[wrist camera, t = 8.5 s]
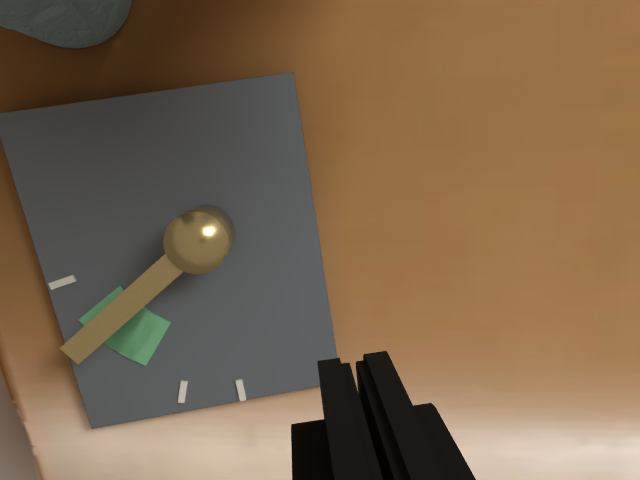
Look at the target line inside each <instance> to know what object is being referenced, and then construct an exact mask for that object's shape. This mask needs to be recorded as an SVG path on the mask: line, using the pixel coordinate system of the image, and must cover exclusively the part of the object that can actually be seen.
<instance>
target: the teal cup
mask: <svg viewBox="0 0 640 480" xmlns="http://www.w3.org/2000/svg"><path fill="white" fill-rule="evenodd" d="M131 5H132V0H0V26H2V27H4V28H7V29H13V30H15V31H17V32H20V33H22V34H25V35H27V36H30V37H32V38H35V39H38V40H40V41H43V42H46V43H48V44H51V45H54V46H58V47H63V48H74V49H76V48H87V47H90V46H94V45H98V44H100V43H102V42H104V41H106V40H108V39H109V38H110V37H112V36H113V35H114V34H115V33H116V32H117V31H118V30H119V29H120V28H121V26H122V25H123V24H124V22H125V20H126V19H127V17H128V14H129V11H130V9H131Z"/></svg>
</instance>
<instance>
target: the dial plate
mask: <svg viewBox="0 0 640 480" xmlns="http://www.w3.org/2000/svg"><path fill="white" fill-rule="evenodd" d="M0 138H1V141H2V145H3V148H4V151H5V154H6V157H7V160H8V164H9V167H10V170H11V173H12V176H13V180H14V183H15V186H16V189H17V192H18V196H19V199H20V202H21V205H22V208H23V211H24V215H25V218H26V221H27V224H28V227H29V231H30V234H31V237H32V240H33V243H34V246H35V250H36V253H37V256H38V259H39V262H40V266H41V269H42V272H43V275H44V278H45V282H46V285H47V288H48V291H49V294H50V297H51V301H52V304H53V307H54V310H55V313H56V317H57V320H58V323H59V326H60V329H61V332H62V336H63V339H64V342H65V343H66V342H67V341H68V340H69V339H70V338H72V337H73V336H74V335H75V334H76V333H77V332H78V331H79V330H81V329H82V328H83V327H84V326H85V325H86V324H87V323H88V322H89V321H91V320H92V319H93V318H94V317H95V316H96V315H97V314H98V313H100V312H101V311H102V310H103V309H104V308H105V307H106V306H107V305H109V304H110V303H111V302H112V301H113V300H114V299H115V298H116V297H117V296H119V295H120V294H121V293H122V292H123V291H124V290H125V289H126V288H128V287H129V286H130V285H131V284H132V283H133V282H134V281H135V280H136V279H138V278H139V277H140V276H141V275H142V274H143V273H144V272H145V271H147V270H148V269H149V268H150V267H151V266H152V265H153V264H154V263H155V262H157V261H158V260H159V259H160V258H161V257H162V256H163V255H164V254H166V253H165V251H164V246H163V238H164V233H165V231H166V229H167V227H168V225H169V224H170V223H171V222H172V221H173V220H174V219H175V218H177V217H178V216H180V215H182V214H183V213H185V212H187V211H188V210H190V209H192V208H194V207H196V206H200V205H211V206H215V207H217V208H219V209H221V210H223V211H224V212H225V213H226V214H227V215H228V216H229V217H230V219H231V220H232V223H233V225H234V230H235V237H234V241H233V244H232V246H231V247H230V249H229V251H228V253H227V255H226V256H225V258H224V260H223V261H222V263H221V264H220V265H219V266H218V267H217V268H215V269H214V270H212V271H210V272H207V273H203V274H191V273H187V272H184V271H183V272H182V273H181V274H180V275H179V276H178V277H177V278H176V279H174V280H173V281H172V282H171V283H170V284H169V285H168V286H167V287H165V288H164V289H163V290H162V291H161V292H160V293H159V294H158V295H156V296H155V297H154V298H153V299H152V300H151V301H150V302H148V303H147V304H146V305H145V306H144V307H143V308H142V309H141V310H139V311H138V312H137V313H136V314H135V315H134V316H133V317H132V318H130V319H129V320H128V321H127V322H126V323H125V324H124V325H123V326H121V327H120V328H119V329H118V330H117V331H116V332H115V333H114V334H112V335H111V336H110V337H109V338H108V339H107V340H106V341H104V342H103V343H102V344H101V345H100V346H99V347H98V348H97V349H95V350H94V351H93V352H92V353H91V354H90V355H89V356H88V357H86V358H85V359H84V360H83V361H82V362H81V363H80V364H79V365H78V364H77V363H76V362H74V361H73V360H72V359H71V358H70V357H69V358H70V361H71V364H72V368H73V371H74V374H75V377H76V380H77V383H78V387H79V390H80V393H81V396H82V399H83V403H84V406H85V409H86V412H87V415H88V419H89V422H90V425H91V428H92V429H94V428H100V427H105V426H110V425H116V424H121V423H126V422H132V421H137V420H142V419H147V418H153V417H158V416H163V415H169V414H174V413H179V412H185V411H190V410H195V409H201V408H206V407H211V406H217V405H222V404H227V403H232V402H238V401H245V400H248V399H254V398H259V397H264V396H270V395H275V394H280V393H286V392H291V391H296V390H302V389H307V388H312V387H317V386H320V380H319V372H318V364H317V361H320V360H327V359H334V358H337V353H336V347H335V340H334V333H333V327H332V320H331V314H330V307H329V301H328V294H327V288H326V281H325V275H324V268H323V262H322V255H321V249H320V242H319V236H318V229H317V223H316V216H315V209H314V203H313V196H312V190H311V183H310V177H309V170H308V164H307V157H306V151H305V144H304V138H303V131H302V125H301V118H300V112H299V105H298V99H297V92H296V86H295V79H294V72H291V73H284V74H277V75H270V76H262V77H255V78H248V79H241V80H234V81H227V82H220V83H213V84H206V85H198V86H191V87H184V88H177V89H170V90H163V91H156V92H149V93H142V94H134V95H127V96H120V97H113V98H106V99H99V100H92V101H85V102H78V103H70V104H63V105H56V106H49V107H42V108H35V109H28V110H21V111H14V112H6V113H0Z"/></svg>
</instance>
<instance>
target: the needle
mask: <svg viewBox="0 0 640 480" xmlns="http://www.w3.org/2000/svg"><path fill="white" fill-rule="evenodd" d="M234 237H235V230H234V225H233V223H232V220H231V219H230V217H229V216H228V215H227V214H226V213H225V212H224V211H223V210H221V209H219V208H217V207H215V206H211V205H200V206H196V207H194V208H192V209H190V210H188V211H187V212H185V213H183V214H182V215H180V216H178V217H177V218H175V219H174V220H173V221H172V222H171V223H170V224H169V225H168V227H167V229H166V231H165V233H164V238H163V246H164V251H165V253H166V254H164V255H163V256H162V257H161V258H160V259H159V260H158V261H157V262H155V263H154V264H153V265H152V266H151V267H150V268H149V269H148V270H147V271H145V272H144V273H143V274H142V275H141V276H140V277H139V278H138V279H136V280H135V281H134V282H133V283H132V284H131V285H130V286H129V287H128V288H126V289H125V290H124V291H123V292H122V293H121V294H120V295H119V296H117V297H116V298H115V299H114V300H113V301H112V302H111V303H110V304H109V305H107V306H106V307H105V308H104V309H103V310H102V311H101V312H100V313H98V314H97V315H96V316H95V317H94V318H93V319H92V320H91V321H89V322H88V323H87V324H86V325H85V326H84V327H83V328H82V329H81V330H79V331H78V332H77V333H76V334H75V335H74V336H73V337H72V338H70V339H69V340H68V341H67V342H66V343H65V344H64V345H63V346H62V347H60V348H59V349H60V350H62V351H63V352H64V353H65V354H66V355H67V356H69V357H70V358H71V359H72V360H73V361H74V362H76V363H77V364H78V365H79V364H80V363H81V362H82V361H83V360H84V359H85V358H86V357H88V356H89V355H90V354H91V353H92V352H93V351H94V350H95V349H97V348H98V347H99V346H100V345H101V344H102V343H103V342H104V341H106V340H107V339H108V338H109V337H110V336H111V335H112V334H114V333H115V332H116V331H117V330H118V329H119V328H120V327H121V326H123V325H124V324H125V323H126V322H127V321H128V320H129V319H130V318H132V317H133V316H134V315H135V314H136V313H137V312H138V311H139V310H141V309H142V308H143V307H144V306H145V305H146V304H147V303H148V302H150V301H151V300H152V299H153V298H154V297H155V296H156V295H158V294H159V293H160V292H161V291H162V290H163V289H164V288H165V287H167V286H168V285H169V284H170V283H171V282H172V281H173V280H174V279H176V278H177V277H178V276H179V275H180V274H181V273H182V272H183V271H184V272H187V273H191V274H203V273H207V272H210V271H212V270H214V269H215V268H217V267H218V266H219V265H220V264H221V263H222V261H223V260H224V258H225V256H226V255H227V253H228V251H229V249H230V247H231V246H232V244H233V241H234Z"/></svg>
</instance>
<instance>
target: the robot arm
mask: <svg viewBox="0 0 640 480" xmlns="http://www.w3.org/2000/svg"><path fill="white" fill-rule="evenodd" d="M317 364H318V372H319V380H320V388H321V396H322V404H323V412H324V419H323V420H316V421H310V422H303V423H297V424H292V425H291V441H292V480H476V479H475V477H474V475H473V474H472V472H471V470H470V468H469V467H468V465H467V463H466V461H465V459H464V458H463V456H462V454H461V452H460V450H459V449H458V447H457V445H456V443H455V441H454V440H453V438H452V436H451V434H450V432H449V431H448V429H447V427H446V425H445V423H444V422H443V420H442V418H441V416H440V415H439V413H438V411H437V409H436V408H435V406H434V405H433V404H431V403H428V404H421V405H415V406H413V405H412V403H411V401H410V399H409V397H408V394H407V392H406V390H405V388H404V386H403V384H402V382H401V380H400V378H399V376H398V373H397V371H396V369H395V367H394V365H393V363H392V361H391V359H390V357H389V355H388V353H387V351H383V352H376V353H369V354H364V355H363V361H357V362H356V372H357V382H358V391H357V387H356V384H355V380H354V377H353V373H352V370H351V366H350V363H343V364H341V361H340V358H334V359H327V360H320V361H317ZM358 393H359V394H358Z"/></svg>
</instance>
